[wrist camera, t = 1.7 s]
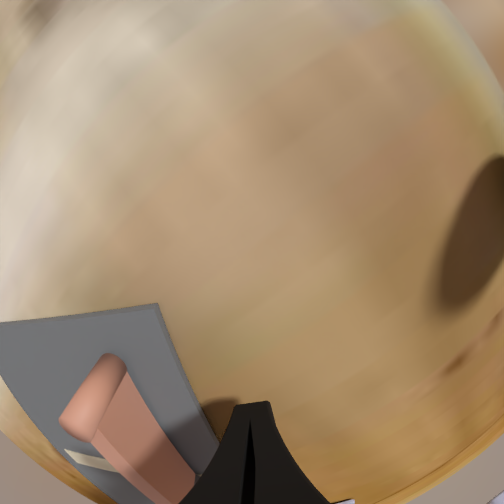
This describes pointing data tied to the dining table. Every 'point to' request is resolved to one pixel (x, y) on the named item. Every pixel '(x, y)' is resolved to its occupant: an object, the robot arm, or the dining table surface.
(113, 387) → the pink rounded-end bar
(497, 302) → the dining table surface
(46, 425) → the mat
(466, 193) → the dining table surface
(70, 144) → the dining table surface
